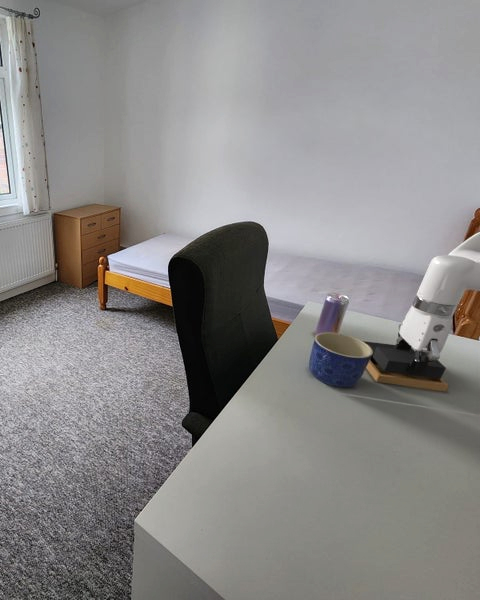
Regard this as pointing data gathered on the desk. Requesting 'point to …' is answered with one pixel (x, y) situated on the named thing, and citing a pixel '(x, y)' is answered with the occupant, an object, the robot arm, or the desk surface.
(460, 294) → the robot arm
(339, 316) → the beverage can
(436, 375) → the loose pad
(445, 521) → the desk surface
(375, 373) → the frame
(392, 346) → the pad
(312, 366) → the planter
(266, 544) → the desk surface
